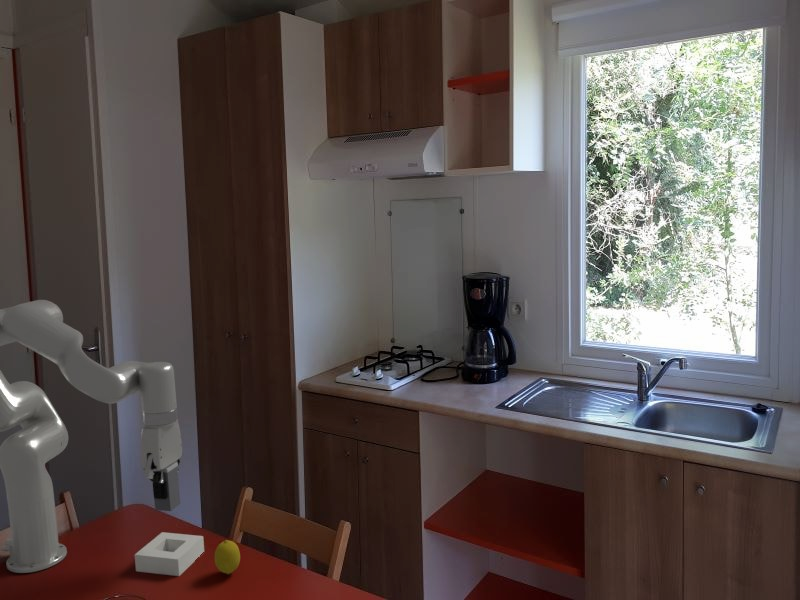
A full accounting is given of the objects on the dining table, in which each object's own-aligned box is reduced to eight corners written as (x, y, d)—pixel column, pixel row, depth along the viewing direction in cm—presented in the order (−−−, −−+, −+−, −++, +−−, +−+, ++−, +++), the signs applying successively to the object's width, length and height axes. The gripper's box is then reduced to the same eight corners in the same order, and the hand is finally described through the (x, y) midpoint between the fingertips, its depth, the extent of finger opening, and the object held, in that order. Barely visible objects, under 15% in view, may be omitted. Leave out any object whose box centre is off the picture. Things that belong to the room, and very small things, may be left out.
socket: (135, 571, 155) (134, 554, 155) (163, 547, 166) (162, 532, 165) (179, 576, 153) (177, 559, 152) (204, 551, 163) (203, 536, 163)
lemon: (243, 567, 156) (241, 533, 155) (238, 580, 150) (236, 545, 149) (218, 568, 156) (216, 534, 155) (213, 581, 150) (210, 546, 149)
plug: (154, 510, 156) (150, 463, 154) (164, 502, 160) (161, 457, 159) (170, 511, 155) (166, 464, 153) (180, 503, 159) (177, 458, 158)
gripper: (166, 405, 164) (172, 478, 166) (122, 428, 147) (130, 508, 150) (194, 406, 162) (200, 480, 164) (153, 429, 146) (160, 511, 148)
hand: (166, 493), depth 157 cm, fingers closed on plug, 4 cm apart
